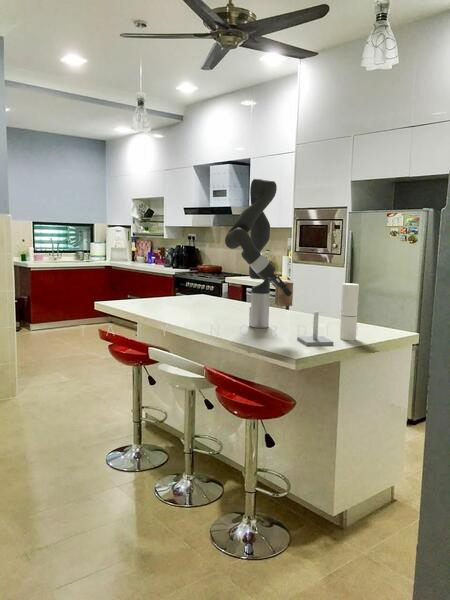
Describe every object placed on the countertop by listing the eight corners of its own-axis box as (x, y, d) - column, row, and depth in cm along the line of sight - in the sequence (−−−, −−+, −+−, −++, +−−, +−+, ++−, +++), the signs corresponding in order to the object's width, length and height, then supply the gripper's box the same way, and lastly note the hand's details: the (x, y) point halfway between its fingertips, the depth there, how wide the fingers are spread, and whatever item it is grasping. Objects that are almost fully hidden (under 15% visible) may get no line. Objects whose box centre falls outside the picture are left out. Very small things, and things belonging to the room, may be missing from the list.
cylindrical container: (353, 337, 226) (356, 283, 222) (357, 340, 219) (361, 285, 215) (337, 337, 225) (340, 283, 222) (342, 340, 218) (345, 284, 215)
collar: (278, 306, 208) (279, 282, 207) (274, 303, 214) (275, 281, 213) (292, 305, 210) (293, 282, 208) (287, 303, 215) (288, 281, 214)
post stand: (306, 345, 205) (308, 314, 204) (297, 339, 217) (298, 309, 215) (333, 345, 208) (335, 314, 206) (322, 339, 219) (324, 309, 218)
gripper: (273, 261, 201) (299, 290, 205) (264, 259, 215) (288, 286, 219) (260, 274, 201) (286, 302, 204) (251, 271, 215) (276, 297, 218)
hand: (287, 293), depth 212 cm, fingers closed on collar, 6 cm apart
